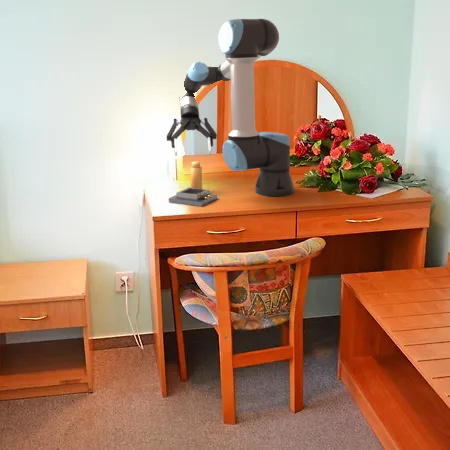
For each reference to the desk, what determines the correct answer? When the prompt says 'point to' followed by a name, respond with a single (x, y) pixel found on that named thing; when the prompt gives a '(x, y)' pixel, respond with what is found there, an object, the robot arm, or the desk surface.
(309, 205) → the desk surface
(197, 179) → the wooden peg doll
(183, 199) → the plate
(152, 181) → the desk surface
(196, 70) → the robot arm
